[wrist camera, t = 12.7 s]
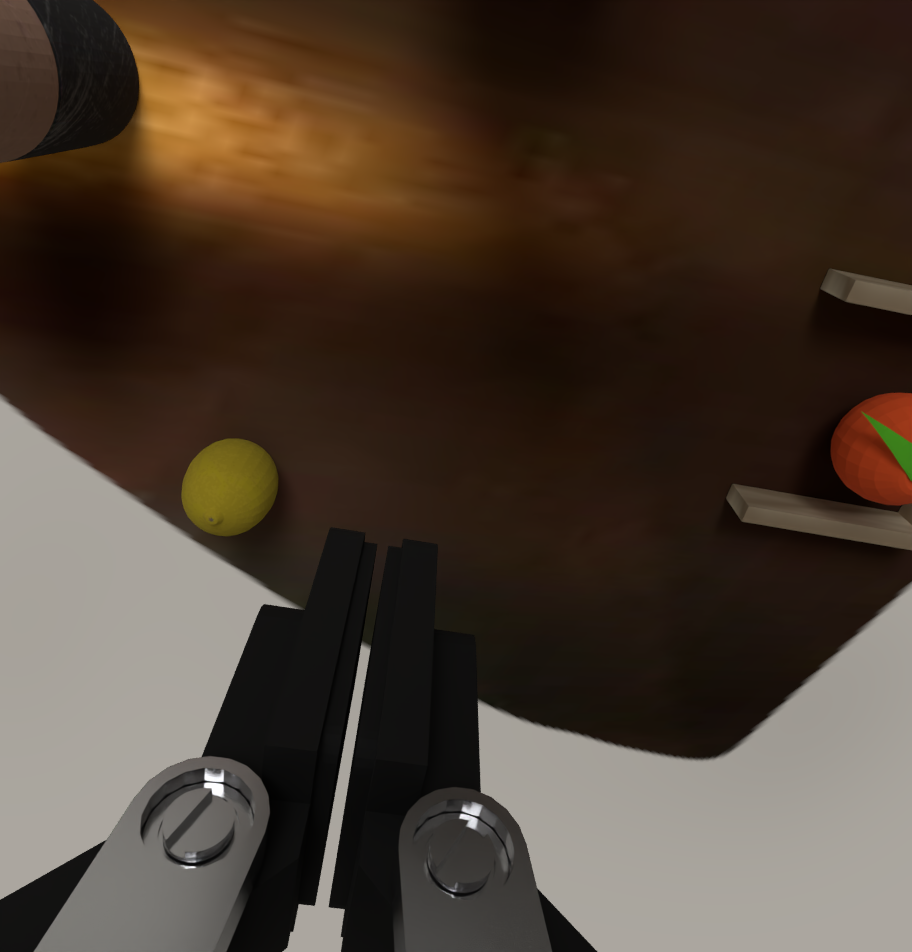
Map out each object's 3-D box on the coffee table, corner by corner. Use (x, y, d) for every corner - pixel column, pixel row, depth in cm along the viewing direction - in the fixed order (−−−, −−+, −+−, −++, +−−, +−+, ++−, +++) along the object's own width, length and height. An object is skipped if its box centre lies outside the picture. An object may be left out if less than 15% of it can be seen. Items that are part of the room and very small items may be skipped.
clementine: (779, 420, 44) (831, 473, 38) (872, 343, 41) (944, 386, 35) (850, 488, 47) (909, 548, 40) (942, 419, 44) (1020, 472, 38)
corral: (829, 268, 39) (855, 280, 37) (1038, 311, 40) (1079, 325, 38) (725, 498, 47) (741, 521, 44) (904, 528, 48) (930, 553, 45)
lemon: (305, 449, 45) (277, 513, 38) (264, 505, 47) (230, 574, 40) (232, 403, 44) (189, 460, 37) (193, 462, 46) (145, 527, 39)
